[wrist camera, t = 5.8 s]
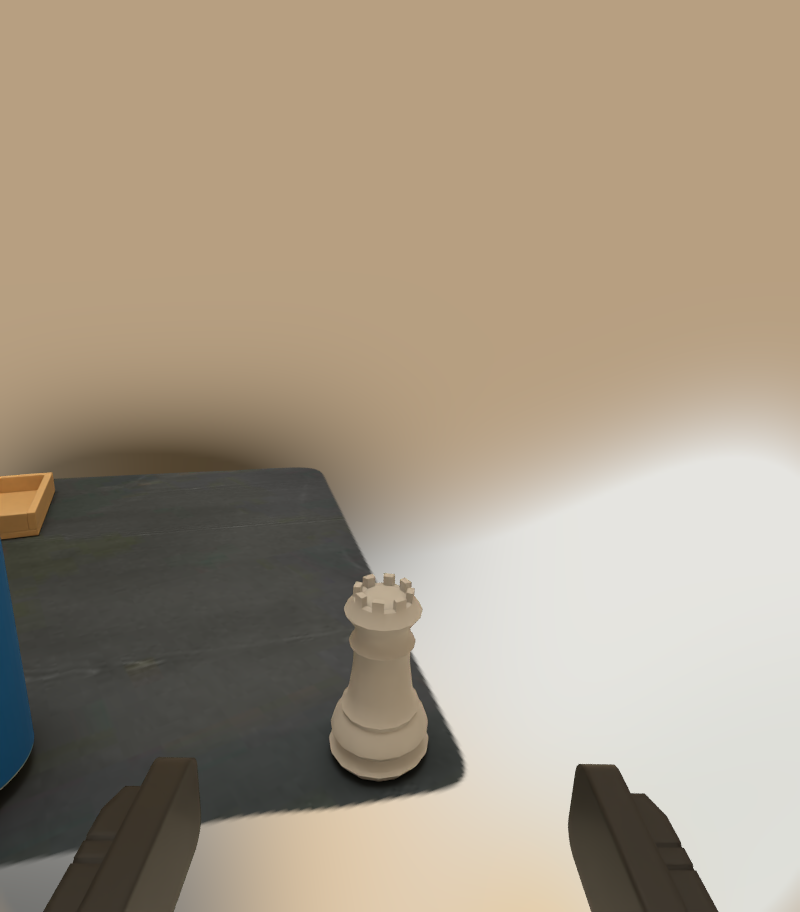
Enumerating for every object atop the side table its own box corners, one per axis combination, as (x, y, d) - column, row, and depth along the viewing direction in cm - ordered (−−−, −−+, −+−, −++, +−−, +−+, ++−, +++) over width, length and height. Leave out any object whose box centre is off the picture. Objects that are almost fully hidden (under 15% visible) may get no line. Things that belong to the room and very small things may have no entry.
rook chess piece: (316, 725, 26) (316, 572, 24) (402, 701, 28) (409, 556, 26) (348, 802, 22) (351, 627, 20) (445, 768, 24) (458, 604, 22)
